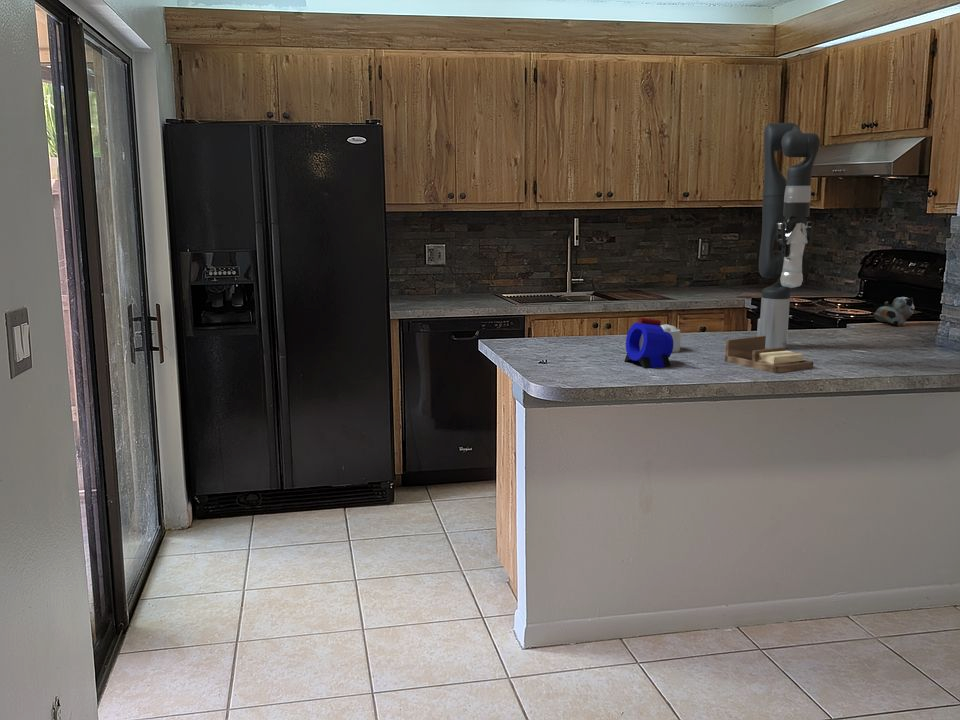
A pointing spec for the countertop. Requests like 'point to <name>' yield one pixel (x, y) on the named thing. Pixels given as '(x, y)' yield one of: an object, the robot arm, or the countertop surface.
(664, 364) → the alarm clock
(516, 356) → the countertop surface
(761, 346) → the walnut rack
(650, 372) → the countertop surface
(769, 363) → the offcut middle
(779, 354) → the offcut top
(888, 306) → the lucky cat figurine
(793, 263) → the silver metal bottle
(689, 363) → the countertop surface
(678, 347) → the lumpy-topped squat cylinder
